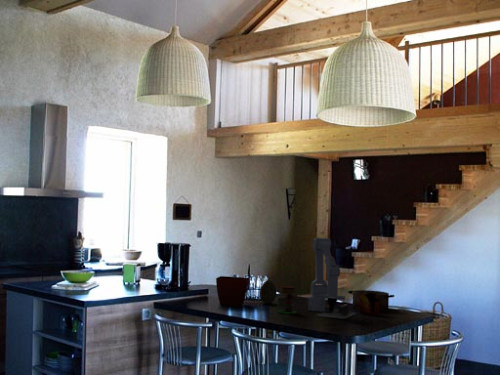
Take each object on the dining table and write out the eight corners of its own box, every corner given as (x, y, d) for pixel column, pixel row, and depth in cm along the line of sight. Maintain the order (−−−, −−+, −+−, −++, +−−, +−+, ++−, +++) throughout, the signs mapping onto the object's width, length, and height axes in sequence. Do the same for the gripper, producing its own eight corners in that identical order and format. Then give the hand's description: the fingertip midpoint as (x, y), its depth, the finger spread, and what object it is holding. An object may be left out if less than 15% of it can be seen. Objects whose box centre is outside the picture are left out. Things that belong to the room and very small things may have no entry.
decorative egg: (270, 305, 401) (271, 281, 402) (256, 303, 407) (257, 279, 407) (279, 303, 410) (280, 280, 411) (264, 301, 416) (265, 278, 417)
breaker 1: (338, 313, 368) (338, 306, 368) (340, 312, 371) (340, 305, 372) (342, 313, 367) (342, 306, 367) (344, 313, 370) (344, 305, 370)
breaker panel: (318, 316, 363) (318, 312, 364) (330, 311, 383) (330, 308, 383) (345, 318, 357) (345, 315, 357) (356, 314, 376) (356, 310, 377)
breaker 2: (342, 312, 374) (342, 304, 374) (344, 311, 378) (344, 304, 378) (346, 312, 373) (346, 305, 373) (348, 311, 377) (348, 304, 377)
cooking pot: (340, 308, 401) (341, 291, 402) (355, 305, 420) (356, 288, 420) (386, 314, 385) (386, 296, 385) (399, 310, 403) (400, 293, 404)
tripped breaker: (324, 313, 364) (324, 306, 364) (326, 312, 368) (326, 305, 368) (328, 314, 363) (328, 306, 363) (330, 313, 367) (331, 306, 367)
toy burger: (301, 312, 374) (302, 287, 375) (291, 314, 364) (292, 288, 365) (284, 310, 381) (285, 285, 382) (273, 312, 371) (274, 286, 371)
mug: (378, 316, 372) (379, 295, 373) (356, 313, 380) (357, 293, 380) (384, 314, 380) (385, 294, 380) (363, 312, 388) (363, 292, 388)
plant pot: (249, 304, 402) (250, 277, 403) (245, 308, 383) (246, 280, 384) (219, 302, 404) (220, 275, 405) (214, 306, 385) (215, 278, 386)
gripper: (318, 287, 364) (317, 311, 364) (342, 289, 358) (342, 313, 358) (322, 286, 371) (321, 309, 370) (346, 288, 365) (345, 312, 364)
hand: (331, 311), depth 364 cm, fingers closed
